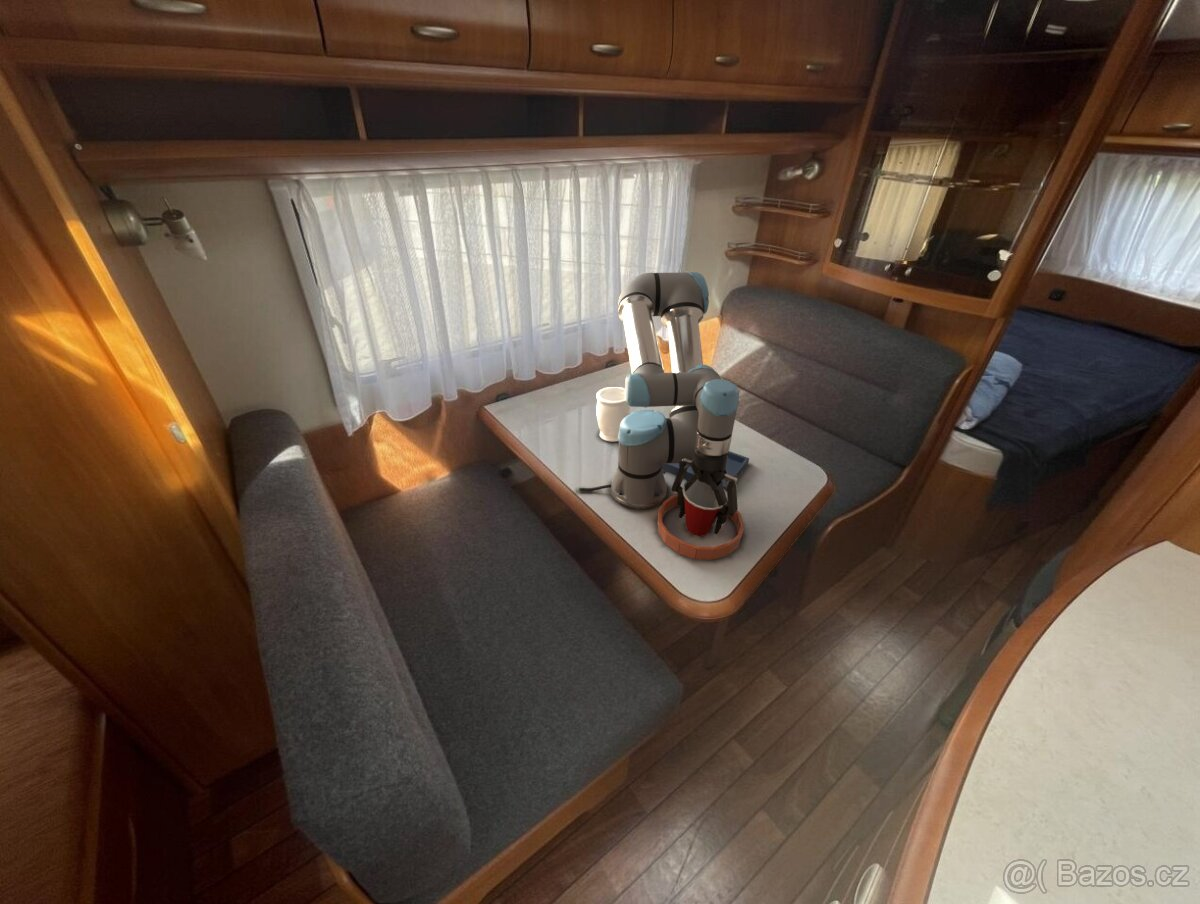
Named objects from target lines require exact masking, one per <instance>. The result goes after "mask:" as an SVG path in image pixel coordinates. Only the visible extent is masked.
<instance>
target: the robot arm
mask: <svg viewBox="0 0 1200 904" xmlns="http://www.w3.org/2000/svg"><path fill="white" fill-rule="evenodd" d="M709 297H710V292H709V285H708V283H707V280H706V278H705V277H704V275H703V274H702V273H700V272H695V271H687V270H686V271H683V272H645V273H642V274H639V275H637V276H635V277H634V278H632V279H631V280H630V281H629V282H628V283H627V284H626V285H625V286H624V287H623V289H622V291H620V295H619V297H618V301H617V312H618V313H617V314H618V318H619V319H620V321H621V322H622V323H623V327H624V328H623V329H624V333H625V340H626V346H627V353H628V358H629V359H628V360H629V365H630V371H631V373H628V374H627V375H625V379H624V389H625V396H626V402H627V404H628V405H629V406H630V408H631V407H632V408H654V407H655V408H656V407H657V408H658V407H673V408H672V409H671V410H670V412H669V414H668V415H669V417H668V418H666V416H665V415H664V414H663V413H662V412H660V411H659V410H656V411H655V410H654V409H640V410H635V411H633V412H630V414H629V415H627V416H626V417H625V418H624V419H623V420H622V421H621V423H620V427H619V434H618V441H617V442H618V453H617V454H618V455H617V468H616V470H615V472H614V475H613V477H612V480H611V483H610V484H605V485H599V486H594V487H579V489H578V491H579V492H595V491H599V490H604V489H610V494H611V497H613V499H614V500H615V502H617V503H618V504H620V505H621V506H624V507H627V508H630V509H637V510H644V509H645V510H646V509H651V508H653V507H656V506H658V505H659V504H661V503H663V502H664V501H665V498H666V495H667V488H668V487H667V482H666V478H665V475H666V472H667V471H666V470H664V469H662V464H663V463H679V471H678V473H677V475H676V476H675V478H674V481H673V483H672V486H671V491H672V492H674V493H676V494H678V500H677V504H678V506H679V510H678V511H679V512H678V518H679V519H683V517H685V501H684V495H683V487H685V491H687V490H688V489H689V488H690V487H691V486H692V484H693V483H694V482H695V481H696V480H697V479H698V480H699V481H700V482H704V483H706V484H708V485H710V486H711V489H712V490H713V491H714V494H715V497H716V499H717V502H718V505H719V506H721V505H723V507H722V508H720V511H719V512H718V514H717V517H716V519H715V526H714V531H713V534H714V535H718V534H719V532H720V531H721V530H722V527H723V526H724V525H725V524H726V523H727V521H728V518H729V516H728V515H730V516H734V514H735V513H736V511H737V510H738V509H739V503H738V491H737V489H738V488H737V484H738V481H739V477H738V476H736V475H734V476H733V477H732V476H730V475H728V474H727V472H726V464H727V459H728V454H729V451H730V448H731V442H732V437H733V431H734V426H735V422H736V417H737V416H736V415H737V411H738V408H739V404H740V399H739V398H740V389H739V386H737V384H735V383H733V382H731V381H730V380H727V379H722V378H721V376H720V374H719V373H718V372H717V371H716V370H715V369H714V367H712V366H710V365H707V364H704V360H703V352H702V351H703V350H702V342H701V333H700V323H701V322H702V321H703V319H704V316H705V314H707V312H708V309H709V303H710V300H709ZM653 317H660V322H661V324H662V325H661V326H663V327H665V328H666V329H667V340H668V350H669V351H668V352H669V363H670V372H665V368H664V364H663V360H662V355H661V351H660V347H659V346H660V345H659V342H658V337H657V332H656V328H655V325H654V320H653ZM690 466H691V468H692V470H693V472H694V474H695V475H694V476H693V477H692V478H691V479H690V480H688V481H687V482H685V483H686V484H685V483H684V484H685V486H684V485H683V487H682V486H681V485H682V483H683V481H684V479H685V478H684V476H685V473H686V471H687V469H688V468H689V467H690ZM723 479H725V480H726V485H727V497H728V500H727V497H726V494H725V491H724V488H723V481H722V480H723ZM726 502H727V503H726ZM725 503H726V504H725ZM724 504H725V505H724ZM738 511H739V510H738Z"/></svg>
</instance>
